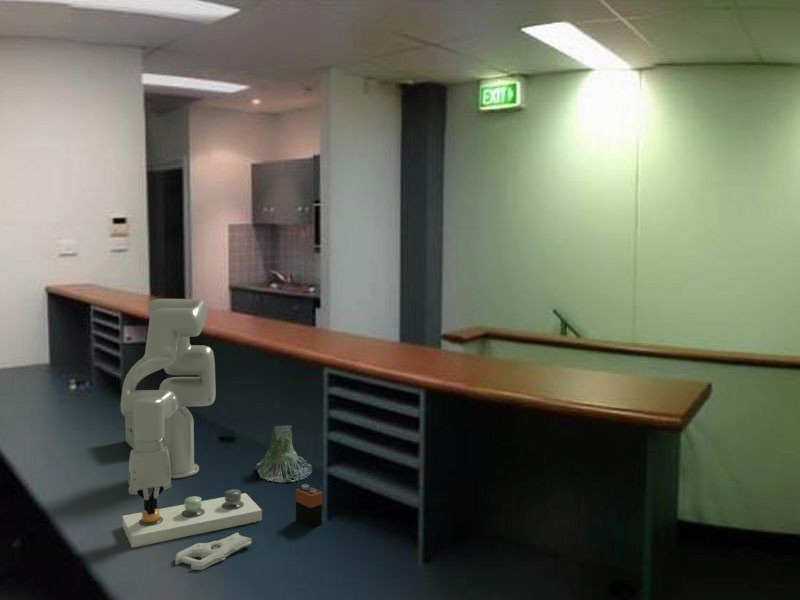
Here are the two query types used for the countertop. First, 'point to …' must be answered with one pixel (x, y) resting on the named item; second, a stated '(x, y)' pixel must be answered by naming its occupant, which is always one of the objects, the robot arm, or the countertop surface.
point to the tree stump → (283, 459)
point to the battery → (308, 506)
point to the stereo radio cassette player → (129, 431)
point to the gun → (211, 551)
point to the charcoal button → (232, 495)
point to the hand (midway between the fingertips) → (150, 512)
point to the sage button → (193, 503)
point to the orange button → (150, 516)
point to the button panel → (191, 520)
